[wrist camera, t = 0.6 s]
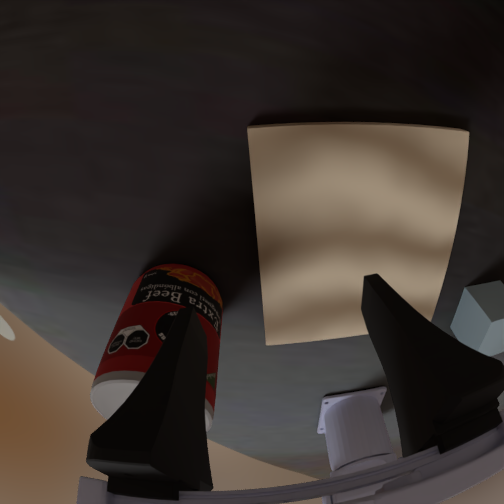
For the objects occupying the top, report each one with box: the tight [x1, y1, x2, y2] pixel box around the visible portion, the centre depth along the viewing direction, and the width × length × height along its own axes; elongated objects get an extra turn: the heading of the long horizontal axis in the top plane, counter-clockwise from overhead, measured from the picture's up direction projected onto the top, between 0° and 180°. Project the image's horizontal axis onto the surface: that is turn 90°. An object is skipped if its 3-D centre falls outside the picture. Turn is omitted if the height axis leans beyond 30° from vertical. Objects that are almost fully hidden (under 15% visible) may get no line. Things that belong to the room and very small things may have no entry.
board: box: [247, 122, 469, 345], centre depth 23 cm, size 18×16×1 cm
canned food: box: [90, 264, 223, 432], centre depth 21 cm, size 8×8×11 cm
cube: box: [450, 280, 504, 356], centre depth 25 cm, size 6×6×6 cm
